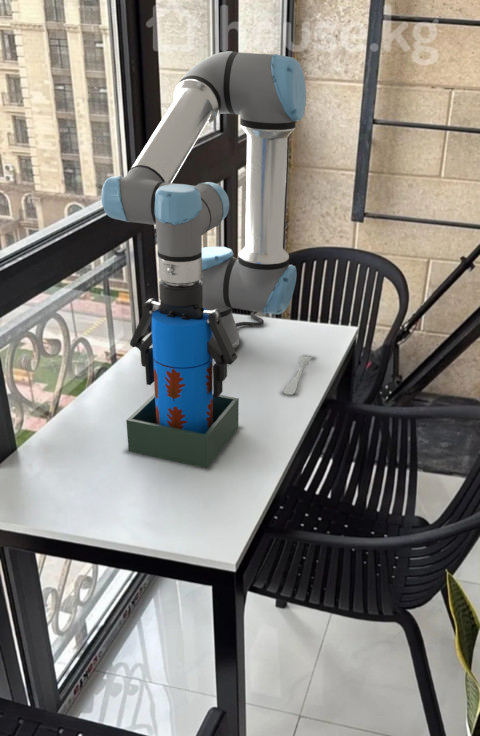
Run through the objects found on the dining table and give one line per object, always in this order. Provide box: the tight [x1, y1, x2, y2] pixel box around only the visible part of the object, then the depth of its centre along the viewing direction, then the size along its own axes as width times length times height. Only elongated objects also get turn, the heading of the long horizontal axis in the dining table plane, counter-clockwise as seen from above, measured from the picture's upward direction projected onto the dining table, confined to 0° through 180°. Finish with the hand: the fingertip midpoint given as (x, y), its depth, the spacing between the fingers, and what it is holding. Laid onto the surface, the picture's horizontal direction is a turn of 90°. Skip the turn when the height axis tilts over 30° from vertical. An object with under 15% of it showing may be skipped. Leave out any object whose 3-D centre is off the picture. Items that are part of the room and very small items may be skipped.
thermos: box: [151, 309, 214, 434], centre depth 141 cm, size 11×11×25 cm
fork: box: [283, 355, 313, 396], centre depth 175 cm, size 3×21×3 cm, turn 166°
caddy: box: [125, 392, 240, 469], centre depth 146 cm, size 16×16×7 cm
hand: (184, 388), depth 142 cm, fingers open, 13 cm apart
